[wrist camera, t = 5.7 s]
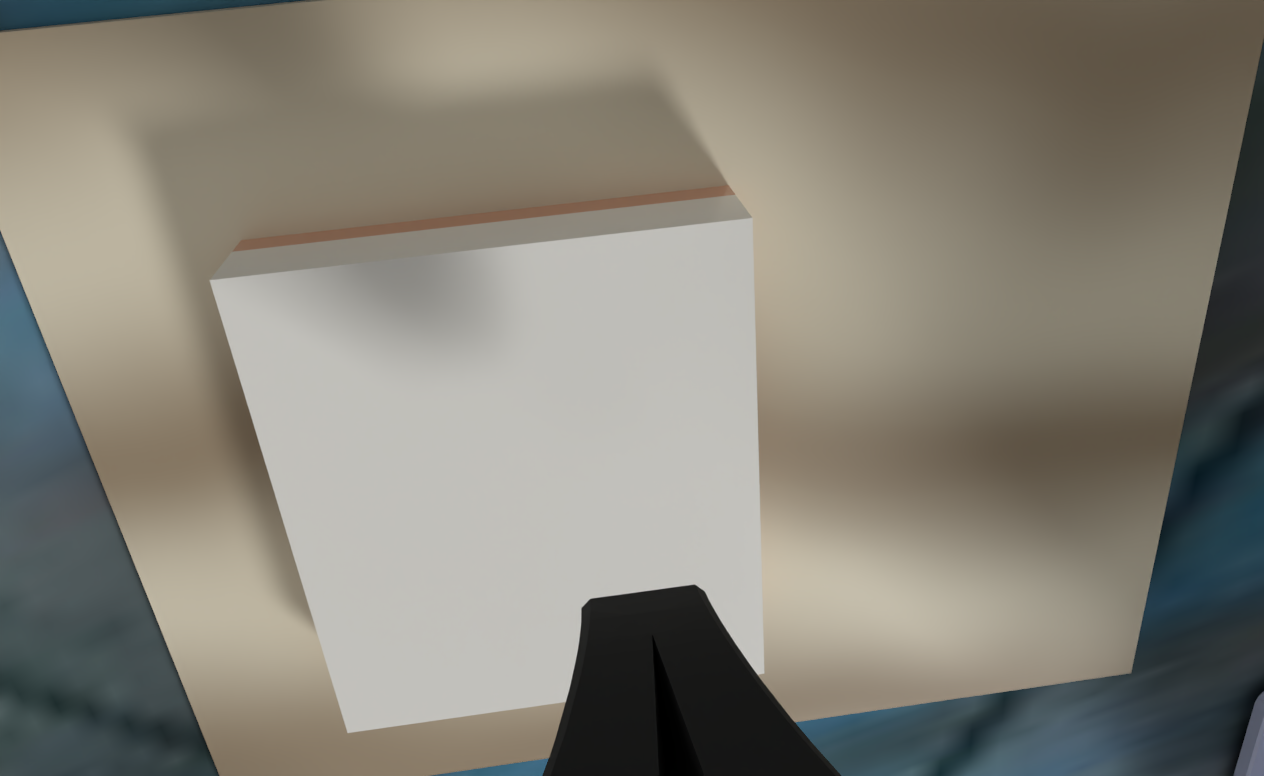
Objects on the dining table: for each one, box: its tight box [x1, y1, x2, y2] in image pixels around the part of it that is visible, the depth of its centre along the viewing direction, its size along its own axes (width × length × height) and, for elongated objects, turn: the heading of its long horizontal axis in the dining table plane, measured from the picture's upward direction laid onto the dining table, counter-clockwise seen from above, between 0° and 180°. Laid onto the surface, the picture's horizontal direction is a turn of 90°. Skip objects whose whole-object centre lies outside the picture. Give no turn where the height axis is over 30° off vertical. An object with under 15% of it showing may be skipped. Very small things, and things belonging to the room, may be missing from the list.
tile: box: [210, 185, 764, 733], centre depth 15 cm, size 8×2×7 cm
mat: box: [0, 0, 1264, 776], centre depth 16 cm, size 14×18×1 cm
